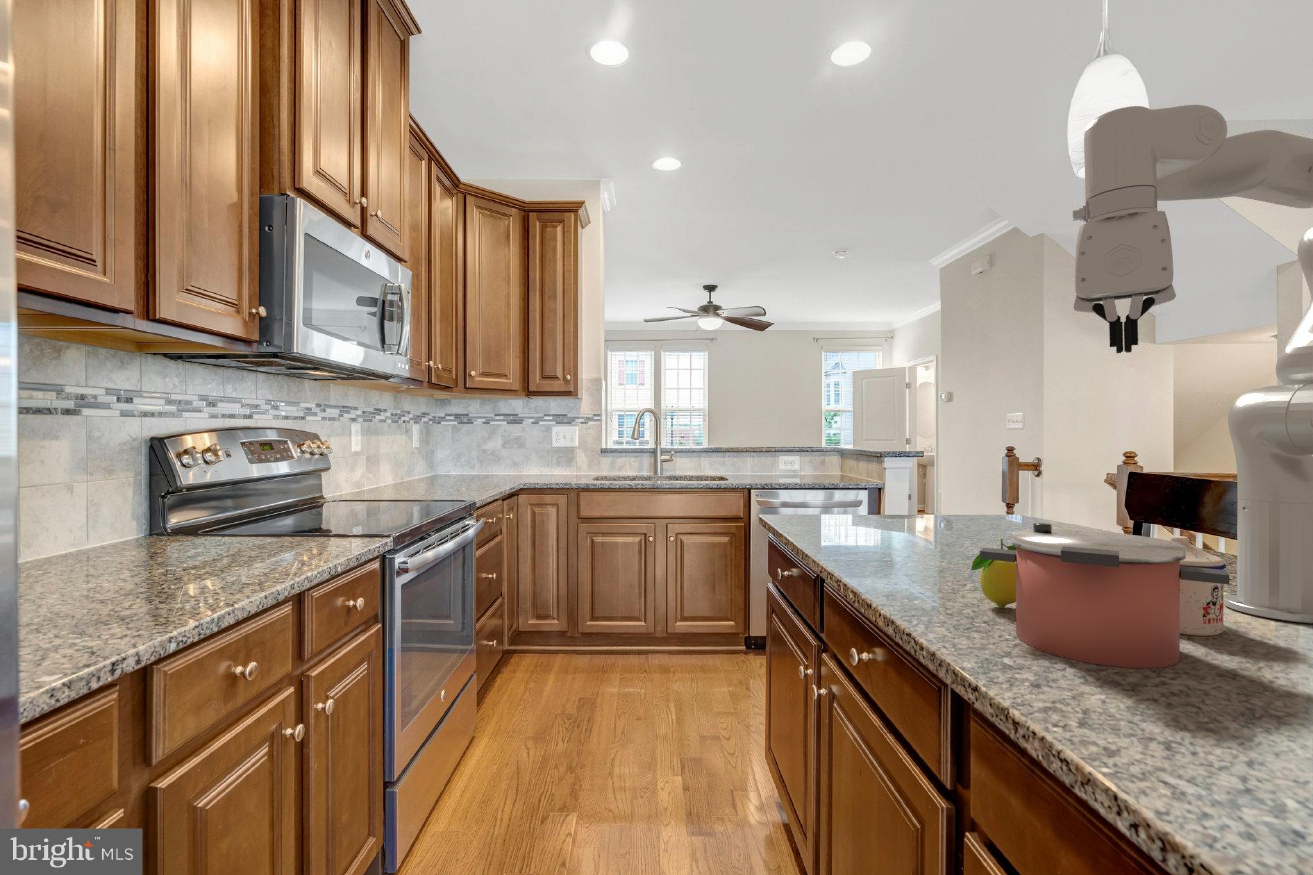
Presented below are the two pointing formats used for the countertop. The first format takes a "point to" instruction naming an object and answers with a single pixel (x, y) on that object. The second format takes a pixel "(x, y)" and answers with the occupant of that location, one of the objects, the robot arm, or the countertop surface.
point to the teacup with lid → (1200, 594)
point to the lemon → (997, 579)
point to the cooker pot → (1101, 607)
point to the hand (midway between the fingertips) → (1123, 351)
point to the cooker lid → (1097, 546)
